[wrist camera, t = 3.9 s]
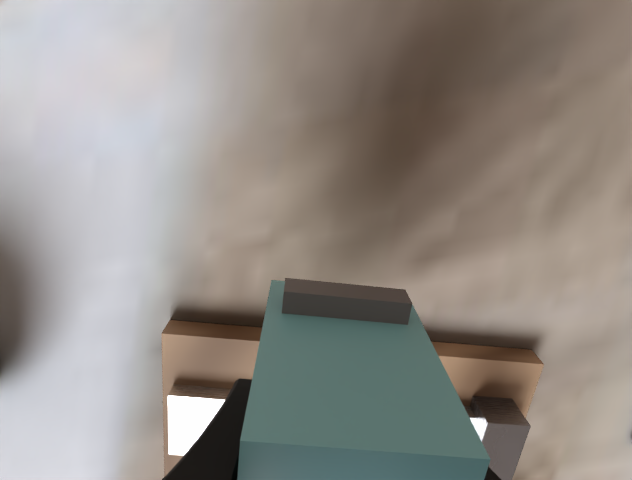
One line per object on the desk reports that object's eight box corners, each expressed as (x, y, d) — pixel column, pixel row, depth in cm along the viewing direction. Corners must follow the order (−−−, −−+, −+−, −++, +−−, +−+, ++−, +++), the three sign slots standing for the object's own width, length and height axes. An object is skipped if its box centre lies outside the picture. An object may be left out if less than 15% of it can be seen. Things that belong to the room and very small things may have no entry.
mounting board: (531, 349, 21) (544, 364, 20) (488, 482, 24) (496, 501, 23) (169, 319, 20) (161, 333, 19) (171, 462, 23) (164, 481, 22)
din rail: (522, 399, 21) (541, 427, 19) (497, 472, 22) (513, 504, 20) (173, 372, 20) (160, 399, 18) (174, 451, 21) (162, 482, 20)
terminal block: (410, 274, 12) (500, 429, 6) (374, 450, 14) (418, 684, 9) (273, 260, 12) (242, 409, 6) (257, 441, 14) (223, 675, 8)
